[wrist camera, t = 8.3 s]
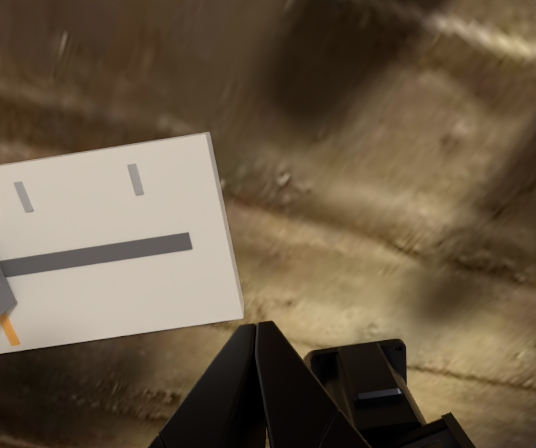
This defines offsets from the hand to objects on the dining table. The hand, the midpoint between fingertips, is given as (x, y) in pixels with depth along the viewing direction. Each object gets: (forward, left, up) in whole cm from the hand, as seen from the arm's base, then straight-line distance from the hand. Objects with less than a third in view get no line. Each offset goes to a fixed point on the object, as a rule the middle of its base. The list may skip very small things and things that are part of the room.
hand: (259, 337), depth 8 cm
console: (-1, +12, -12) cm, 17 cm away
